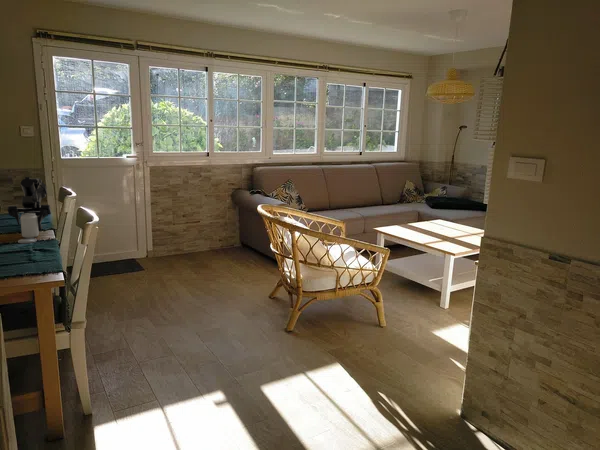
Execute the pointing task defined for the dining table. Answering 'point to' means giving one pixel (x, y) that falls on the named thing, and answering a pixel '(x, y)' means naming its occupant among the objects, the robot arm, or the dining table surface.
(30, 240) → the coaster
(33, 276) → the dining table surface
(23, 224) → the can
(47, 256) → the dining table surface
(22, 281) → the dining table surface
